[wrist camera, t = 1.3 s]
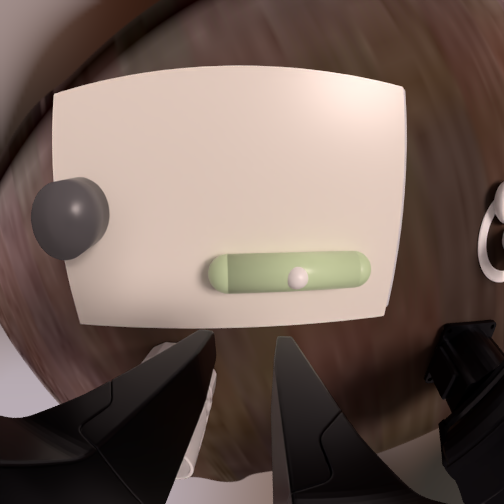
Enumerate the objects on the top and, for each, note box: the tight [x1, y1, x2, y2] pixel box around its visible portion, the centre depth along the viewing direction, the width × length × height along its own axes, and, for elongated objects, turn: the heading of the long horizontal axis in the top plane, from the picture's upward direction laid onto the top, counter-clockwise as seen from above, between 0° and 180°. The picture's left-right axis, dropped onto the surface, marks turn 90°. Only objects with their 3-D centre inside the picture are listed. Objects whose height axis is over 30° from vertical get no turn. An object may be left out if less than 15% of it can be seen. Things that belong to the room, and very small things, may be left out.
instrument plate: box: [31, 66, 405, 328], centre depth 12 cm, size 18×13×3 cm
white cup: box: [142, 342, 217, 480], centre depth 20 cm, size 8×8×10 cm
